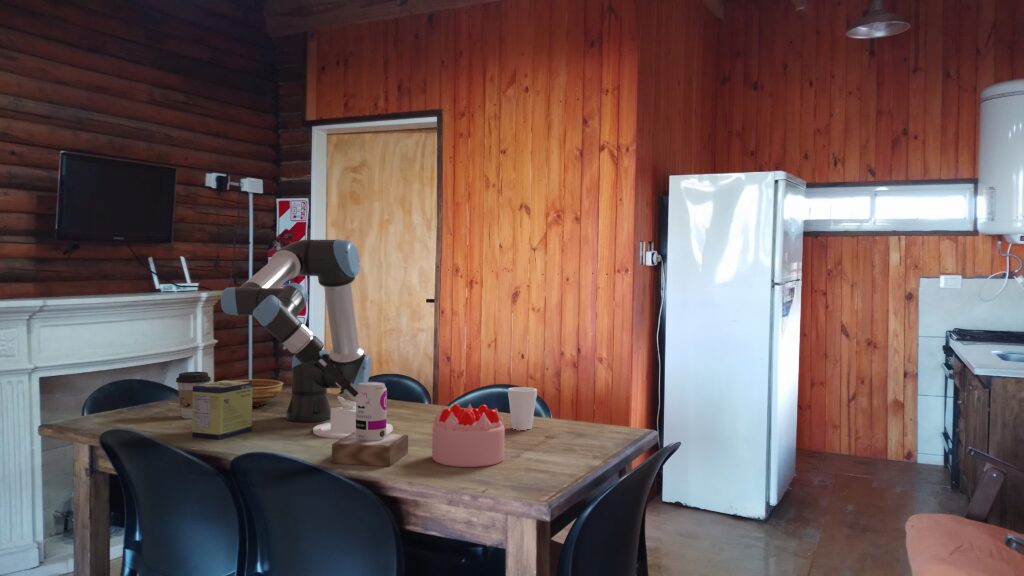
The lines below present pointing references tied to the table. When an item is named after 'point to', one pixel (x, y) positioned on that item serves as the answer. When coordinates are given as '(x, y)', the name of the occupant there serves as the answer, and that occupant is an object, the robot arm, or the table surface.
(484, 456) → the cake
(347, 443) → the walnut stand
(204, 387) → the protein box
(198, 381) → the coffee cup
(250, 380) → the wicker basket
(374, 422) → the supplement can
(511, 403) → the foam cup
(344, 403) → the dish
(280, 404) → the table surface
